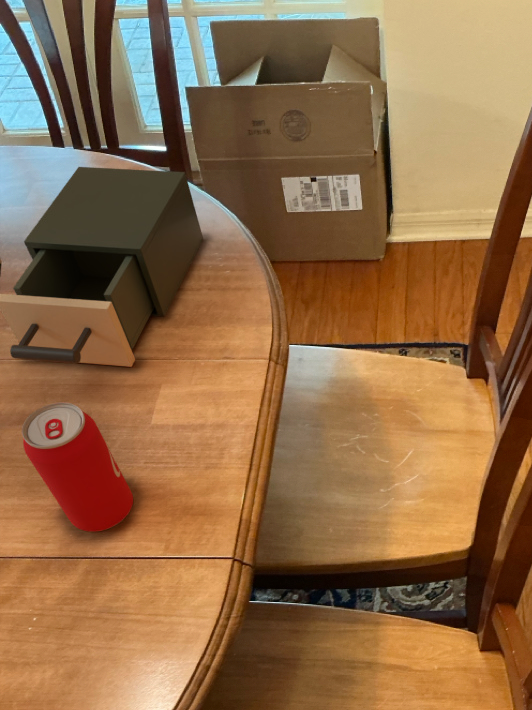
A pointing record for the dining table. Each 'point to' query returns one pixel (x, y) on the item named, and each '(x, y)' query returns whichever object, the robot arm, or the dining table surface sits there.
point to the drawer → (78, 308)
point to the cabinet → (126, 223)
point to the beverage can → (77, 466)
